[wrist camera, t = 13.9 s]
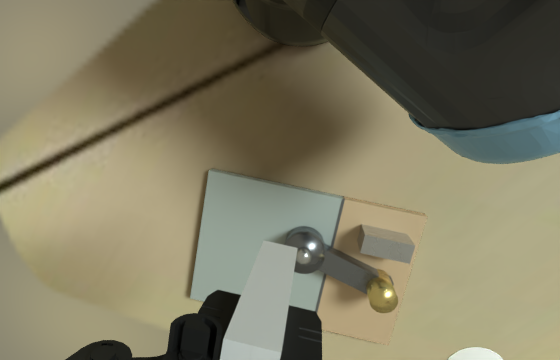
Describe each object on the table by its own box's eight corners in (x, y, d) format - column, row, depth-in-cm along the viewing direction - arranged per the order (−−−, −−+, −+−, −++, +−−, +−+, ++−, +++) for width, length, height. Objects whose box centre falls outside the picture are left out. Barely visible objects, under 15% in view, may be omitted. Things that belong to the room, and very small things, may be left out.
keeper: (361, 224, 38) (365, 234, 35) (407, 234, 38) (415, 245, 35) (357, 240, 39) (360, 252, 36) (402, 250, 39) (409, 263, 35)
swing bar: (278, 252, 40) (273, 268, 36) (295, 219, 39) (292, 232, 35) (378, 302, 40) (385, 324, 36) (398, 270, 39) (407, 289, 35)
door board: (212, 168, 40) (208, 170, 39) (424, 213, 39) (427, 217, 37) (193, 293, 44) (189, 298, 43) (386, 338, 42) (388, 345, 41)
